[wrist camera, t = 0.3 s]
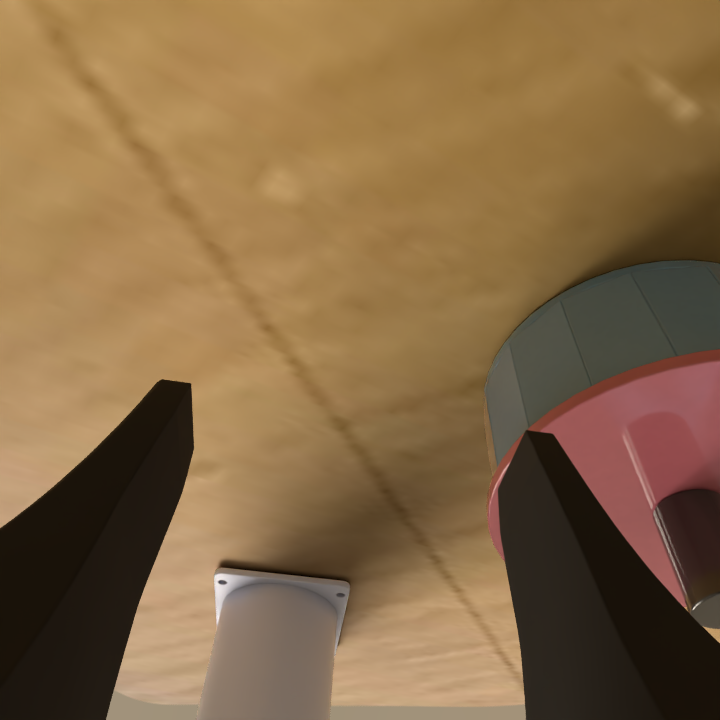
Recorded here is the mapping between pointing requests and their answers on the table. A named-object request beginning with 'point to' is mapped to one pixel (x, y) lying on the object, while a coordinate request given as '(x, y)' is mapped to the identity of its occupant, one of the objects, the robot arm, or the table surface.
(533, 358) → the bowl
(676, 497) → the lid
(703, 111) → the table surface
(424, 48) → the table surface
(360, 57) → the table surface
